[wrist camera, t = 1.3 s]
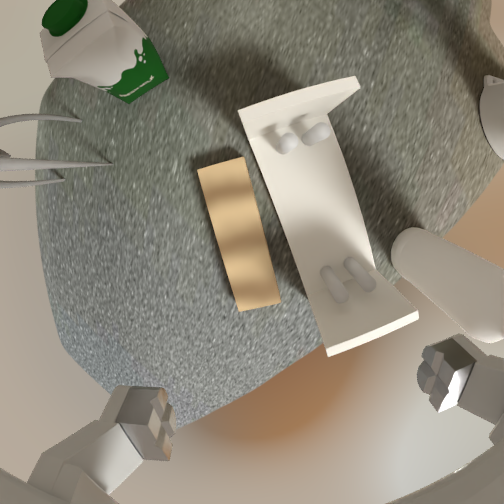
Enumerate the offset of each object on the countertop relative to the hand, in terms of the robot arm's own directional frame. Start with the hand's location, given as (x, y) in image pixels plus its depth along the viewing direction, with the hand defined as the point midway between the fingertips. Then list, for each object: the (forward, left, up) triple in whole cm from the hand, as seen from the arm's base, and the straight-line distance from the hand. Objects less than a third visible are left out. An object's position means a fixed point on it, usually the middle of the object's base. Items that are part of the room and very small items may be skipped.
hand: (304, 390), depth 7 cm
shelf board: (+4, +1, -32) cm, 32 cm away
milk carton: (+9, -27, -32) cm, 43 cm away
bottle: (-19, +13, -32) cm, 39 cm away
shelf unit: (-7, +1, -31) cm, 32 cm away
